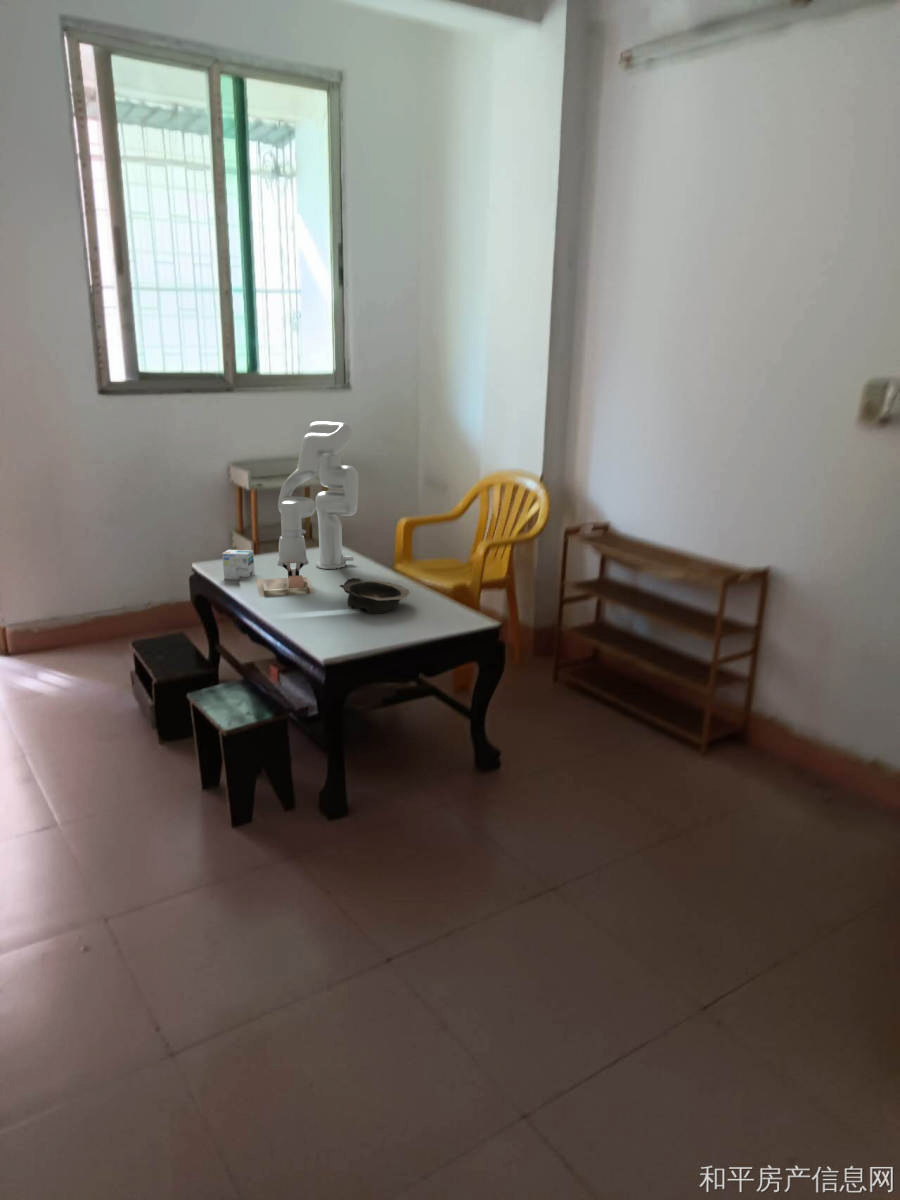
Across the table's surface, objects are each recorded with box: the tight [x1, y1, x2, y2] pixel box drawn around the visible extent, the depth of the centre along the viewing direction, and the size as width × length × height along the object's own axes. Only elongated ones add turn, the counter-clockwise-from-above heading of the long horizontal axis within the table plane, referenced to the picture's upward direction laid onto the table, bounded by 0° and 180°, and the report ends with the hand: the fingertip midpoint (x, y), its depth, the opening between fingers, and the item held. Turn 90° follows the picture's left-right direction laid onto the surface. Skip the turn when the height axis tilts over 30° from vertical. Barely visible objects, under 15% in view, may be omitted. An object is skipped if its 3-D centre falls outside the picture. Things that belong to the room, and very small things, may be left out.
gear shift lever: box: [287, 567, 304, 588], centre depth 312 cm, size 5×13×6 cm, turn 16°
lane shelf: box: [255, 576, 315, 597], centre depth 314 cm, size 20×22×4 cm
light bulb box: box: [222, 549, 256, 580], centre depth 328 cm, size 11×7×11 cm, turn 84°
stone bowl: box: [339, 577, 411, 615], centre depth 296 cm, size 25×25×9 cm
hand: (293, 579), depth 317 cm, fingers closed on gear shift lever, 1 cm apart
